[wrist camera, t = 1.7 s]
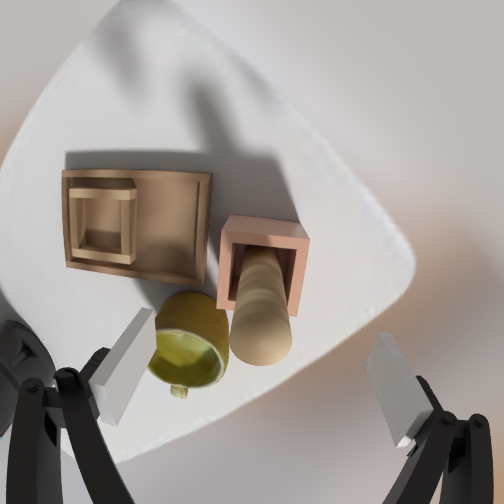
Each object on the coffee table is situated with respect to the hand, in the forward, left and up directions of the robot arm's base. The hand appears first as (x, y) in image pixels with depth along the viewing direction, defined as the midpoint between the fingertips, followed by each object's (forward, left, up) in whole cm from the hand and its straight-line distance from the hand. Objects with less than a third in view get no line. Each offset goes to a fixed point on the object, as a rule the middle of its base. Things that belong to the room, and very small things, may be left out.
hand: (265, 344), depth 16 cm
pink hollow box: (0, 0, -17) cm, 17 cm away
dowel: (0, 0, -16) cm, 16 cm away
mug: (-8, -12, -18) cm, 22 cm away
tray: (-15, +2, -17) cm, 23 cm away
